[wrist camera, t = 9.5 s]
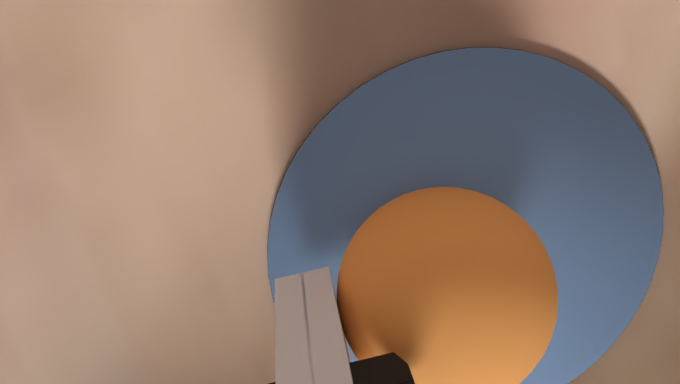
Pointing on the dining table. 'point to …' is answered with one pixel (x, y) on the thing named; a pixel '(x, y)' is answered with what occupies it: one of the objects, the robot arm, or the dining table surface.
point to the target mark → (490, 180)
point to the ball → (449, 288)
